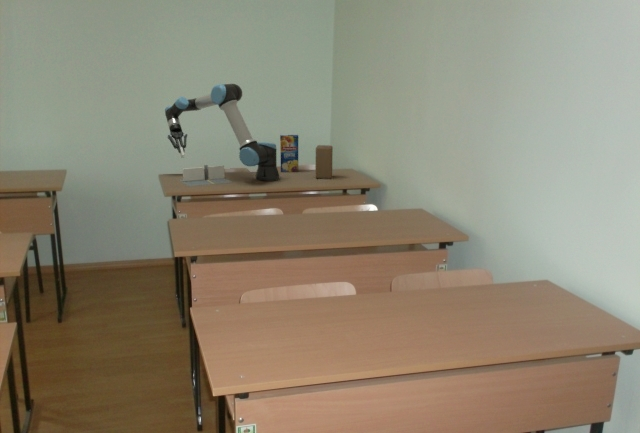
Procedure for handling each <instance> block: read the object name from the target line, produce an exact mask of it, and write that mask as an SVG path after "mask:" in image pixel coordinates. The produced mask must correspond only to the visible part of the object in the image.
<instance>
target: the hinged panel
mask: <svg viewBox="0 0 640 433" xmlns="http://www.w3.org/2000/svg"><path fill="white" fill-rule="evenodd" d="M204 178H205V171H204V166H202V167H199V166H198V167H187V168H182V179H183V181H194V180H204Z"/></svg>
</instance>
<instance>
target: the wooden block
mask: <svg viewBox="0 0 640 433" xmlns="http://www.w3.org/2000/svg"><path fill="white" fill-rule="evenodd" d="M333 149H334V148H333V145H329V144H328V145H325V144H323V145H321V144H319V145H317V146H316V147H315V178H316V179H325V180H326V179H327V180H328V179H329V180H330V179H331V178H332V176H333Z"/></svg>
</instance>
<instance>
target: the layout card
mask: <svg viewBox="0 0 640 433" xmlns="http://www.w3.org/2000/svg"><path fill="white" fill-rule="evenodd" d="M179 181H180V182H181V183H182V184H184V185H186V186H188V187H197V186H209V185H220V184H230V183H231V184H232V183H233V181H231V180H228V179H227V178H225V177H224V178H222V179H211V180H209V179H208V180H205V177H204V180H194V181H183V178H182V179H179Z"/></svg>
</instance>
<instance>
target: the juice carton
mask: <svg viewBox="0 0 640 433" xmlns="http://www.w3.org/2000/svg"><path fill="white" fill-rule="evenodd" d="M279 139H280V142H279V143H280V173H299V134H280V136H279Z"/></svg>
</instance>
